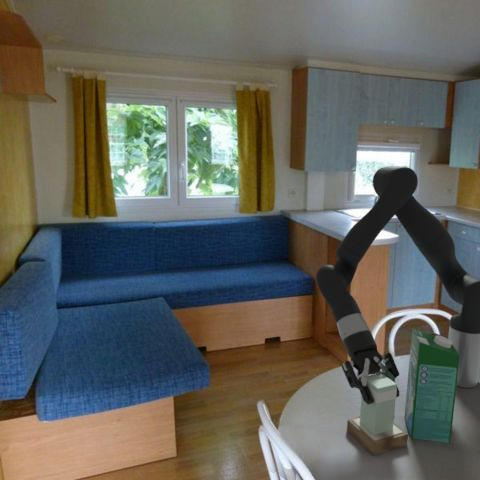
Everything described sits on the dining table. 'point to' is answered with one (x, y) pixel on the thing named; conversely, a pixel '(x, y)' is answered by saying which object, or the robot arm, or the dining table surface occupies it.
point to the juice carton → (379, 404)
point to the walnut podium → (377, 437)
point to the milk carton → (431, 387)
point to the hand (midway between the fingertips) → (383, 400)
